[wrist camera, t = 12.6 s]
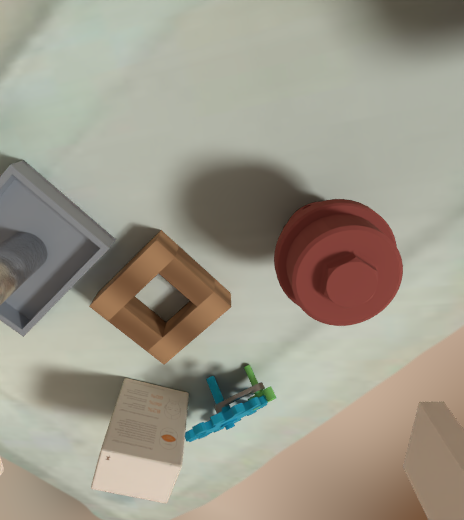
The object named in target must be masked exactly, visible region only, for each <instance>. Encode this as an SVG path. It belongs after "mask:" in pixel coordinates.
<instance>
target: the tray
mask: <svg viewBox="0 0 464 520" xmlns="http://www.w3.org/2000/svg"><path fill="white" fill-rule="evenodd" d="M19 232H27V233H31V234H33V235H35V236H37V237H38V238H40V239H41V240H42V241H43V243H44V244H45V246H46V248H47V260H46V262H45V263H44V264H43V265H42V266H41V267H40V268H39V269H38V270H37V271H36V272H35V273H34V274H33V275H32V276H31V277H30V278H28V279H27V280H26V281H25V282H24V283H23V284H22V285H21V286H20V287H19V288H18V289H17V290H16V291H15V292H14V293H13V294H12V295H10V296H9V297H8V298H7V299H6V300H5V301H4V302H3V303H2V304H1V305H0V320H1V321H2V322H4V323H5V324H6V325H8V326H9V327H11V328H12V329H13V330H15V331H16V332H18V333H19V334H21V335H22V336H23V337H24V336H25V335H26V333H27V332H28V331H29V330H30V329H31V328H32V327H33V326H34V325H35V324H36V323H37V322H38V321H39V320H40V319H41V318H42V317H43V316H44V315H45V314H46V313H47V312H48V311H49V310H50V309H51V308H52V307H53V306H54V305H55V304H56V303H57V302H58V301H59V300H60V299H61V298H62V297H63V296H64V295H65V293H66V292H67V291H68V290H69V289H70V288H71V287H72V286H73V285H74V284H75V283H76V282H77V281H78V280H79V279H80V278H81V277H82V276H83V275H84V274H85V273H86V272H87V271H88V270H89V269H90V268H91V267H92V266H93V265H94V264H95V263H96V262H97V261H98V260H99V259H100V258H101V257H102V256H103V255H104V254H105V252H106V251H107V250H108V249H109V248H110V247H111V246H112V244H113V243H114V242H115V240H116V239H115V238H114V237H112V236H111V235H110V234H109V233H108V232H107V231H105V230H104V229H103V228H102V227H101V226H100V225H98V224H97V223H96V222H95V221H94V220H93V219H91V218H90V217H89V216H88V215H87V214H86V213H85V212H83V211H82V210H81V209H80V208H79V207H78V206H76V205H75V204H74V203H73V202H72V201H71V200H69V199H68V198H67V197H66V196H65V195H64V194H62V193H61V192H60V191H59V190H58V189H57V188H55V187H54V186H53V185H52V184H51V183H50V182H49V181H47V180H46V179H45V178H44V177H43V176H42V175H40V174H39V173H38V172H37V171H36V170H35V169H33V168H32V167H31V166H30V165H29V164H28V163H26V162H25V161H24V160H22V161H19V162H16V163H13V164H10V165H9V167H8V168H7V169H6V170H5V172H4V173H3V174H2V175H1V176H0V243H2V242H3V241H5V240H6V239H8V238H9V237H11V236H12V235H14V234H16V233H19Z"/></svg>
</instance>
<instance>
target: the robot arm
mask: <svg viewBox="0 0 464 520" xmlns="http://www.w3.org/2000/svg"><path fill="white" fill-rule="evenodd" d="M403 468H404V470H405V472H406V474H407V476H408V478H409V480H410V482H411V484H412V486H413V489H414V491H415V493H416V495H417V497H418V499H419V501H420V503H421V505H422V507H423V509H424V511H425V513H426V516H427V518H428V520H464V429H463V428H462V426H461V425H460V424H459V422H458V421H457V420H456V418H455V417H454V415H453V414H452V413H451V411H450V410H449V408H448V407H447V406H446V404H445V403H444V402H419V405H418V409H417V413H416V417H415V421H414V425H413V429H412V433H411V437H410V441H409V445H408V449H407V453H406V457H405V461H404V465H403ZM3 470H4V468H3V464H2V461H1V457H0V475H1V473H2V472H3Z"/></svg>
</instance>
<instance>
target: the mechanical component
mask: <svg viewBox="0 0 464 520" xmlns="http://www.w3.org/2000/svg"><path fill="white" fill-rule="evenodd" d="M274 264H275V270H276V274H277V278H278V281H279V283H280V286H281V287H282V289H283V291H284V292H285V294H286V295H287V296H288V298H290V299H291V300H292V301H293V302H294V303H295V304H297V305H298V306H300V307H301V308H302V310H303V311H304V312H305V313H306V314H308V315H309V316H310V317H312V318H313V319H315V320H317V321H319V322H322V323H325V324H329V325H336V326H346V325H353V324H357V323H360V322H363V321H366V320H368V319H370V318H372V317H374V316H375V315H377V314H378V313H380V312H381V311H382V310H383V309H384V308H385V307H386V306H387V305H388V304H389V303H390V302H391V301H392V299H393V298H394V297H395V295H396V293H397V291H398V289H399V286H400V284H401V280H402V274H403V265H402V259H401V256H400V253H399V251H398V249H397V247H396V241H395V237H394V235H393V232H392V230H391V228H390V227H389V225H388V224H387V223H386V221H385V220H384V219H383V218H382V217H381V216H380V215H378V214H377V213H376V212H375V211H373V210H372V209H370V208H369V207H368V206H365V205H363V204H361V203H359V202H355V201H352V200H345V199H332V200H326V201H322V202H314V203H310V204H307V205H305V206H303V207H302V208H300V209H299V210H297V211H296V212H295V213H294V214H293V215H292V216H291V217H290V219H289V221H288V222H287V224H286V225H285V226H284V228H283V231H282V232H281V234H280V236H279V238H278V241H277V244H276V248H275V253H274Z"/></svg>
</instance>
